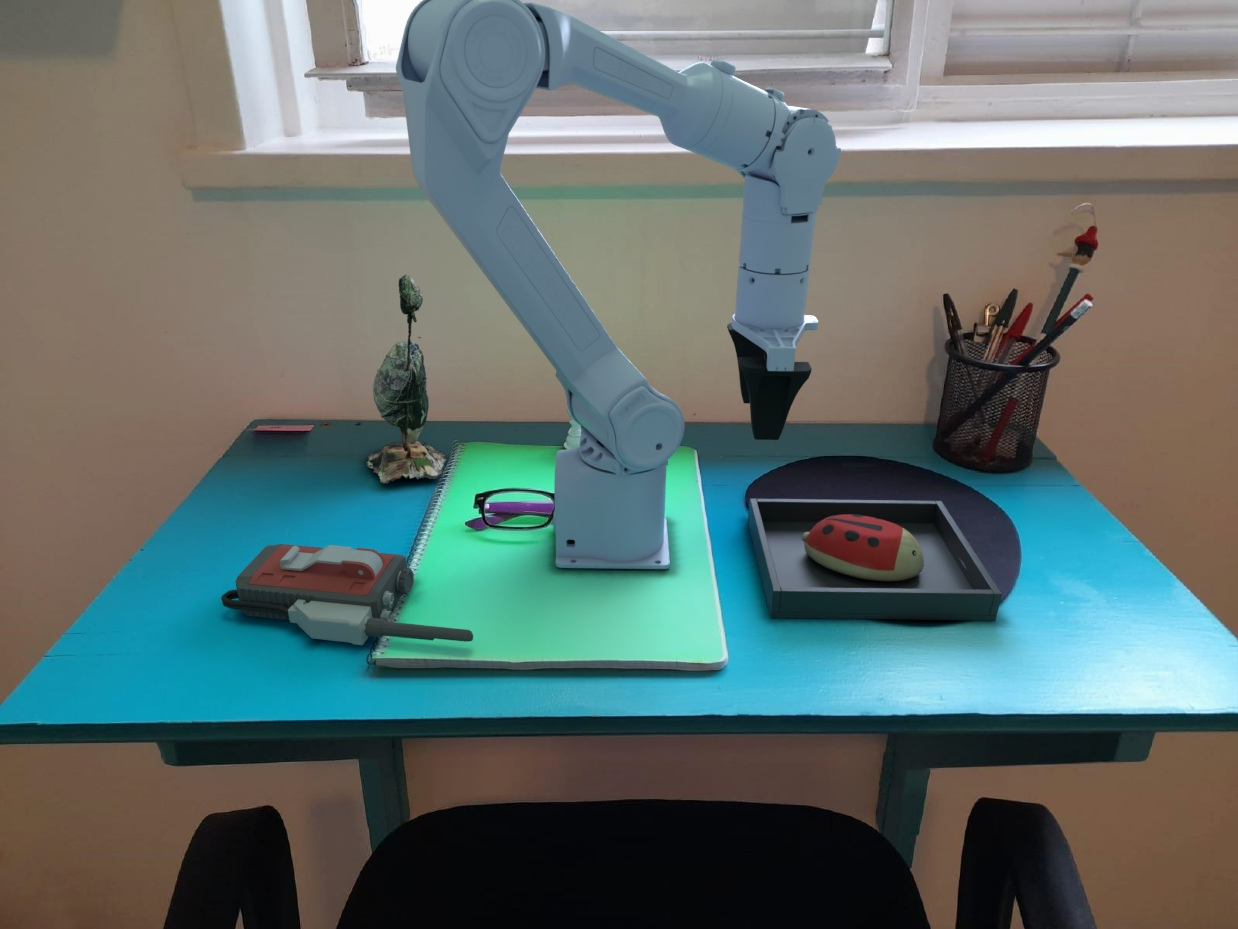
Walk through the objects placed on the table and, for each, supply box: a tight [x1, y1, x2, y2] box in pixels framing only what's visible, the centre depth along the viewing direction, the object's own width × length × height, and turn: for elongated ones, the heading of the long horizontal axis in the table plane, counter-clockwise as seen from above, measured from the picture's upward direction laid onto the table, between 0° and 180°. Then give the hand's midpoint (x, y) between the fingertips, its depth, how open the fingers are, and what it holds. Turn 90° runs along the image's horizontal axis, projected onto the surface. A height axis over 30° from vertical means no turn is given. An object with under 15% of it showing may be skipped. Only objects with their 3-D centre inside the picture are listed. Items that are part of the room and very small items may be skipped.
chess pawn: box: [563, 408, 581, 450], centre depth 91 cm, size 3×3×5 cm
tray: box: [747, 498, 1003, 622], centre depth 72 cm, size 17×14×2 cm
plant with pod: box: [366, 273, 447, 484], centre depth 84 cm, size 8×11×20 cm
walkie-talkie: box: [220, 543, 474, 646], centre depth 66 cm, size 9×4×20 cm
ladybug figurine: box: [802, 514, 924, 581], centre depth 72 cm, size 7×10×4 cm
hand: (759, 419), depth 76 cm, fingers open, 7 cm apart
